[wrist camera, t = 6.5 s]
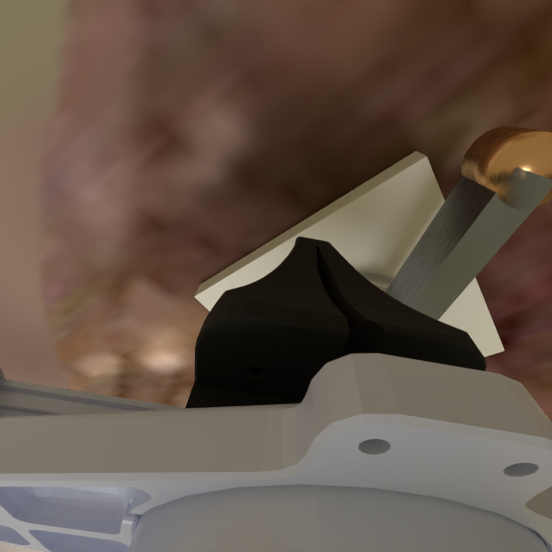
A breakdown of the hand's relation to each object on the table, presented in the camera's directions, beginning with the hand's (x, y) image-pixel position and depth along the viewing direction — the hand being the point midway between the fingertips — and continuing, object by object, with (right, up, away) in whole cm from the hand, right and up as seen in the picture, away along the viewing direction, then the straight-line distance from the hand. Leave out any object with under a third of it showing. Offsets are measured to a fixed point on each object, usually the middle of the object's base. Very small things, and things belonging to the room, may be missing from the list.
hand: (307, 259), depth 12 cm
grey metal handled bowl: (+5, -1, +5) cm, 8 cm away
